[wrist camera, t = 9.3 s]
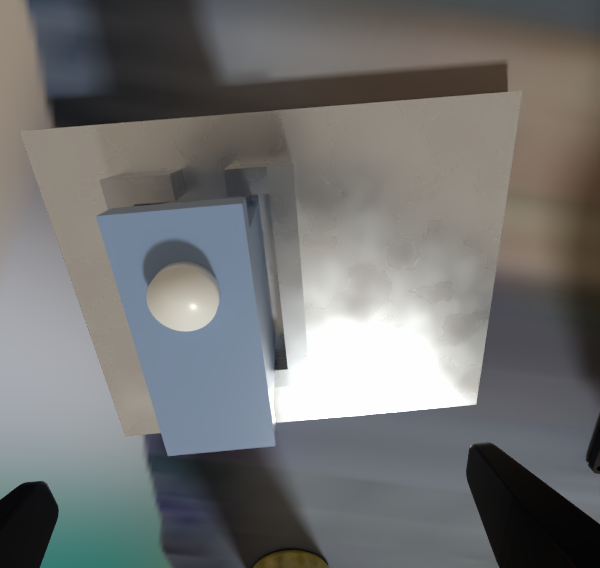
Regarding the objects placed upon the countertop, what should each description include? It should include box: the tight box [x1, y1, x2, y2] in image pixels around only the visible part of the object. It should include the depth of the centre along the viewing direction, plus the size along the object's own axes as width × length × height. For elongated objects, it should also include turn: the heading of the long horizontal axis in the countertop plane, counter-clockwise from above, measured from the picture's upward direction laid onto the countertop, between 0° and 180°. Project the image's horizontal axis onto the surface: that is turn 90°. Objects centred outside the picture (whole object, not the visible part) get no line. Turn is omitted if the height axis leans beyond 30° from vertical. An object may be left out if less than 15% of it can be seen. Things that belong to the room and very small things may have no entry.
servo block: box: [96, 197, 276, 456], centre depth 14 cm, size 9×4×7 cm, turn 4°
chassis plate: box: [19, 91, 522, 436], centre depth 18 cm, size 16×20×3 cm
